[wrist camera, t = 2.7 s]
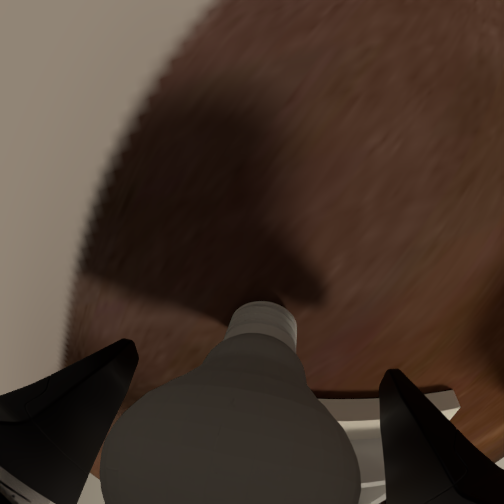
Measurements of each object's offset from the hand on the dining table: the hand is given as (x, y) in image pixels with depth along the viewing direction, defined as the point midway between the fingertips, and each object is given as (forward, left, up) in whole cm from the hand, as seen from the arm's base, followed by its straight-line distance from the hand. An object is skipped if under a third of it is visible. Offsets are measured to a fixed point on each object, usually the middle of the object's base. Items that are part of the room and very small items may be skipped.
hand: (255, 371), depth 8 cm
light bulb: (0, 0, -3) cm, 3 cm away
